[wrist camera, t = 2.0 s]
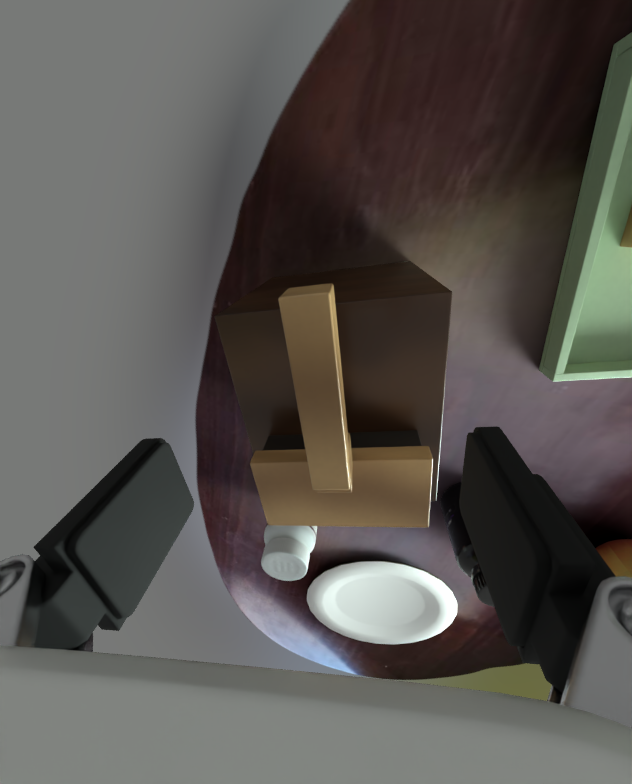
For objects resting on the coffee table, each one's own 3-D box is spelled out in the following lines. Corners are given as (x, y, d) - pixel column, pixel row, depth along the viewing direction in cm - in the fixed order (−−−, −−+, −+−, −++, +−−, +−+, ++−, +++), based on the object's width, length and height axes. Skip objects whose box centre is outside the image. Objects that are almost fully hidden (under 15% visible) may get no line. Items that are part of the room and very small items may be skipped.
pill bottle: (273, 495, 45) (249, 573, 35) (285, 466, 42) (263, 542, 32) (313, 509, 45) (301, 590, 35) (328, 481, 42) (319, 561, 32)
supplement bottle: (428, 495, 41) (452, 588, 31) (475, 471, 38) (520, 564, 28) (457, 523, 43) (489, 620, 33) (504, 502, 40) (556, 601, 30)
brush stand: (271, 277, 30) (213, 316, 18) (410, 260, 28) (452, 291, 16) (296, 409, 37) (266, 501, 25) (408, 403, 35) (436, 501, 23)
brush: (420, 489, 22) (441, 578, 17) (278, 490, 24) (254, 571, 18) (429, 256, 15) (472, 276, 9) (225, 281, 17) (159, 310, 11)
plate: (482, 574, 48) (486, 585, 46) (422, 646, 60) (424, 657, 58) (324, 536, 48) (323, 547, 46) (296, 616, 60) (295, 626, 58)
